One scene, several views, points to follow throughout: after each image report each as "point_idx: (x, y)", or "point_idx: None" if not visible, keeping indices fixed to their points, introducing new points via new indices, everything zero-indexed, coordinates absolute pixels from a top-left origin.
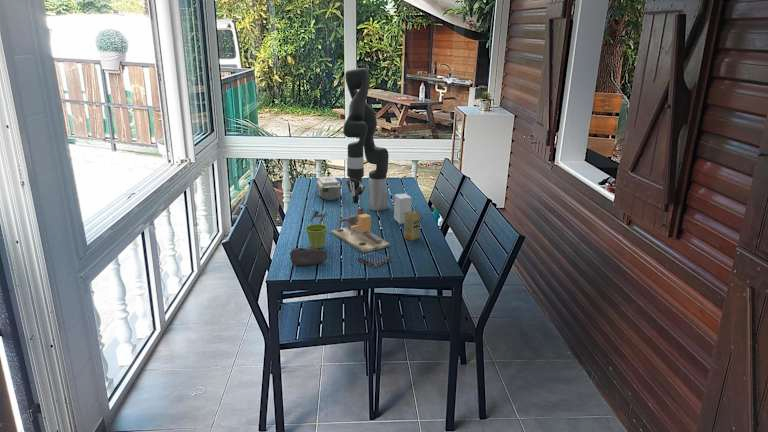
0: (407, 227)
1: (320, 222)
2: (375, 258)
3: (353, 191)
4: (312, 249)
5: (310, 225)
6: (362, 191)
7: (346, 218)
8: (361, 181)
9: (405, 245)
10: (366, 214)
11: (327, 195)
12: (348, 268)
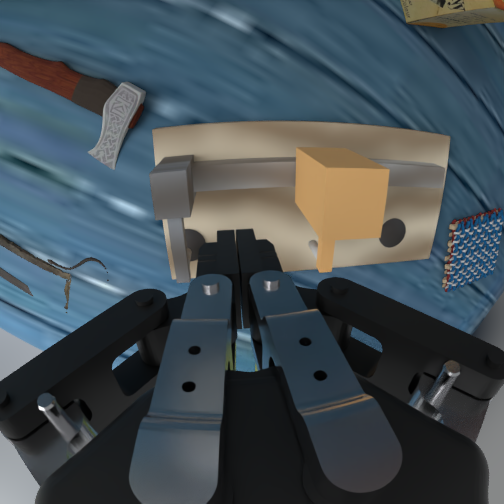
0: (457, 18)
1: (41, 263)
2: (484, 255)
3: (235, 367)
4: None
5: None
6: (420, 320)
7: (179, 235)
8: (487, 473)
9: (464, 83)
10: (344, 175)
11: None
12: (450, 322)
